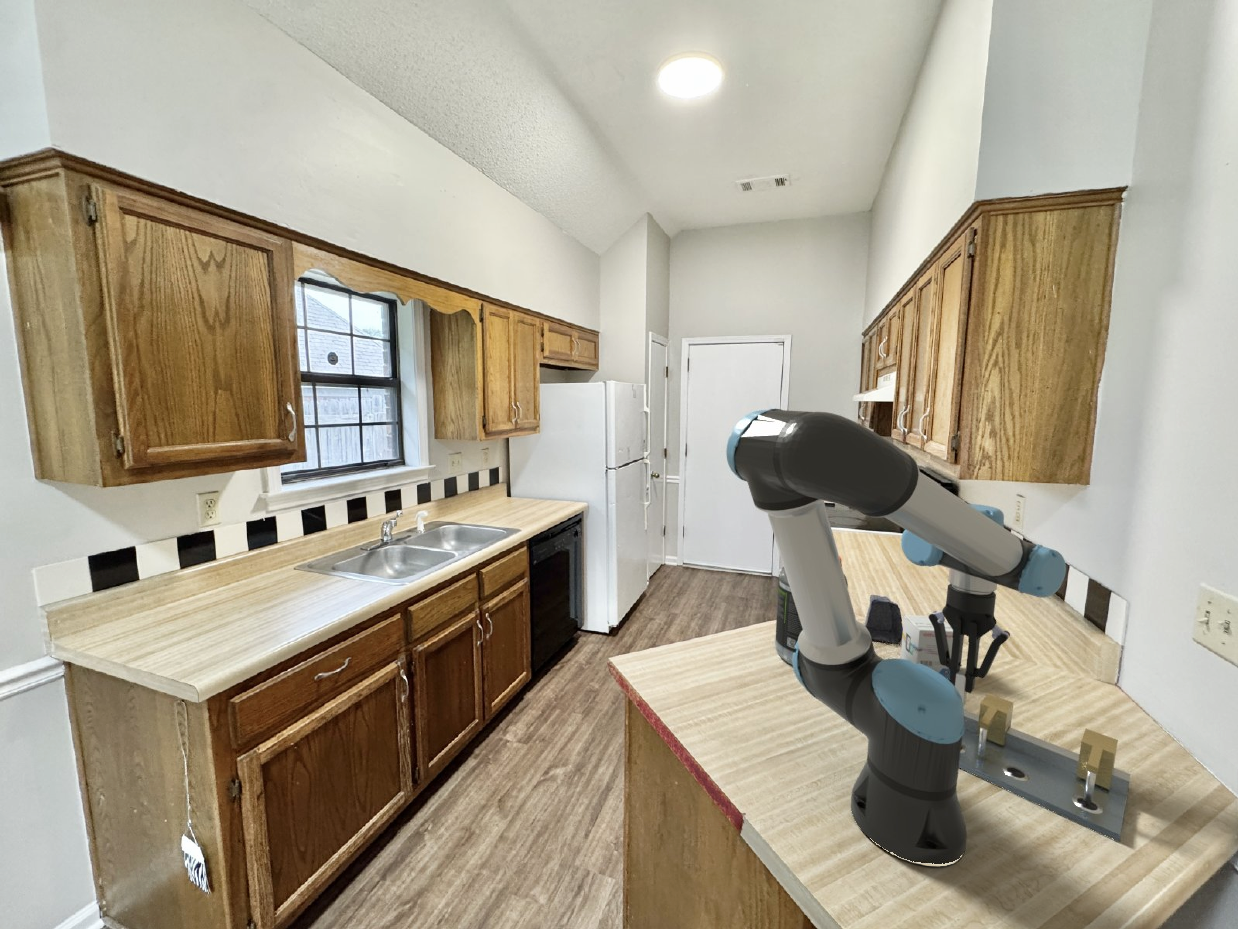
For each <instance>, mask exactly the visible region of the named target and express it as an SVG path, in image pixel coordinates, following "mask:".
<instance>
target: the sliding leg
mask: <svg viewBox="0 0 1238 929" xmlns="http://www.w3.org/2000/svg"><path fill="white" fill-rule="evenodd" d="M979 706H980V707H979V714H978V715H979V722H978V731H977V735H979V744H978V755H979V756H984V755H985V746H986V739H988V740H991V741H993V742H995V743H998V744H1000V745H1004V743H1005V736H1006V731H1007V729H1008V727H1011V728H1012V720H1013V719H1012V717H1013V712H1014V711H1013V710H1014V702H1013V701H1010V700H1008V699H1005V698H1002V697H999V696H996V695H993V694H991V693H987V694H986V695H985V697H984V698H983V700H982V701H981V702H980V704H979Z"/></svg>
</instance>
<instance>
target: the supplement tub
mask: <svg viewBox="0 0 1238 929" xmlns="http://www.w3.org/2000/svg"><path fill="white" fill-rule="evenodd" d="M839 559H840V562H841V566H843V565H842V557H841V556H840V555H839ZM844 577H845V581H846V584H847V588H848V589H849V586H848V585H849V584H848V579H847V577H846V575H845V574H844ZM777 581H778V582H777V601H776V602H777V603H776V623H775V640H774V642H775V644H774V645H775V647H774V648H775V650H776V653H777V654H778V656H779V657H780V658H781V659H782V660H784V661H786V662H787V663H788V664H789V665H792V666H793V661H792V658H793V653H795V652H796V649H795V645H796V643H797V641H798V637H799V635H800V633H801V631H802V630H803V628H802V625H801V622H800V618H799V615H798V612H797V609H796V605H795V602H794V599H793V595H792V592H791V589H790V586H789V582H788V579H787V576H786V572H785V569H784V566H782V568H781V569H780V571H779V573H778V580H777Z"/></svg>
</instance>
